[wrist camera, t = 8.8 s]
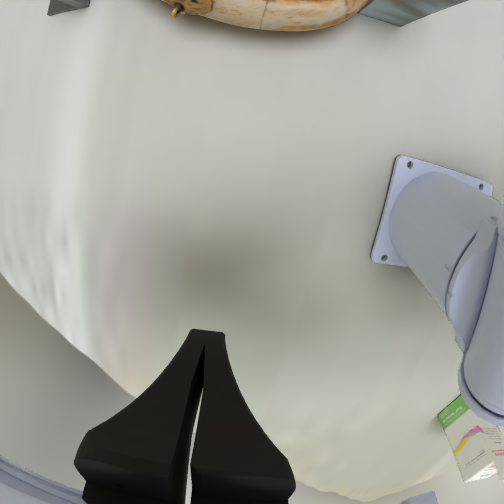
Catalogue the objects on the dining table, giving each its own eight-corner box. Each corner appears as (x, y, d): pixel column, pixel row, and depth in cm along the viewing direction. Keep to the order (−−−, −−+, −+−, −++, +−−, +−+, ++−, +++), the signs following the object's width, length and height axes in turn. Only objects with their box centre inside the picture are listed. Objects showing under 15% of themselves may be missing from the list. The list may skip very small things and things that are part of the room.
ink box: (435, 415, 33) (467, 503, 20) (461, 392, 31) (502, 481, 18) (462, 420, 35) (492, 495, 21) (486, 400, 33) (521, 474, 19)
